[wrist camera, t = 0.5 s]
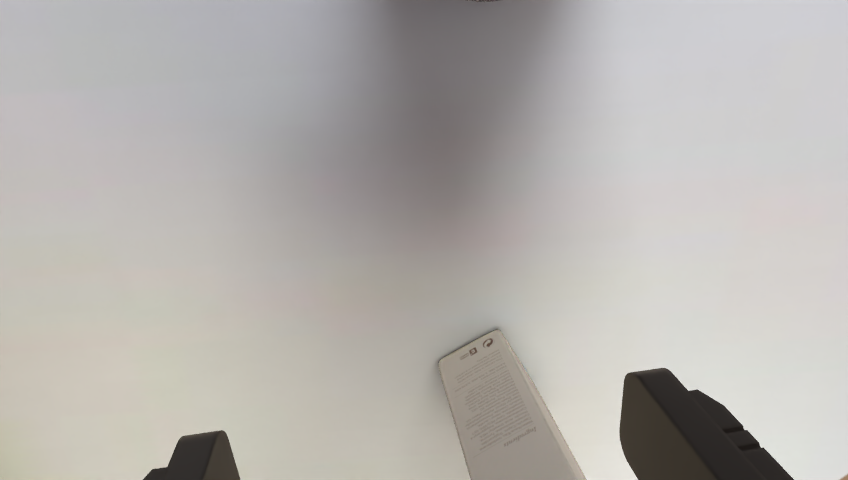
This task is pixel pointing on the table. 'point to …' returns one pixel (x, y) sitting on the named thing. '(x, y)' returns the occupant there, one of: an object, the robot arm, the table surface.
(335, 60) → the table surface
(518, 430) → the cosmetic box
